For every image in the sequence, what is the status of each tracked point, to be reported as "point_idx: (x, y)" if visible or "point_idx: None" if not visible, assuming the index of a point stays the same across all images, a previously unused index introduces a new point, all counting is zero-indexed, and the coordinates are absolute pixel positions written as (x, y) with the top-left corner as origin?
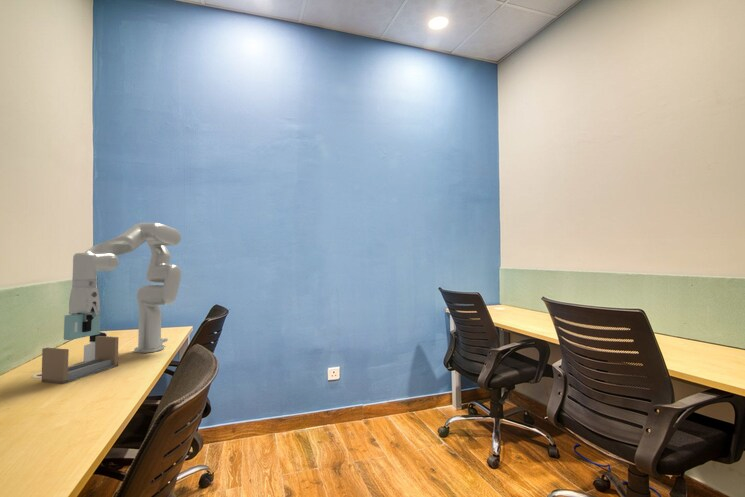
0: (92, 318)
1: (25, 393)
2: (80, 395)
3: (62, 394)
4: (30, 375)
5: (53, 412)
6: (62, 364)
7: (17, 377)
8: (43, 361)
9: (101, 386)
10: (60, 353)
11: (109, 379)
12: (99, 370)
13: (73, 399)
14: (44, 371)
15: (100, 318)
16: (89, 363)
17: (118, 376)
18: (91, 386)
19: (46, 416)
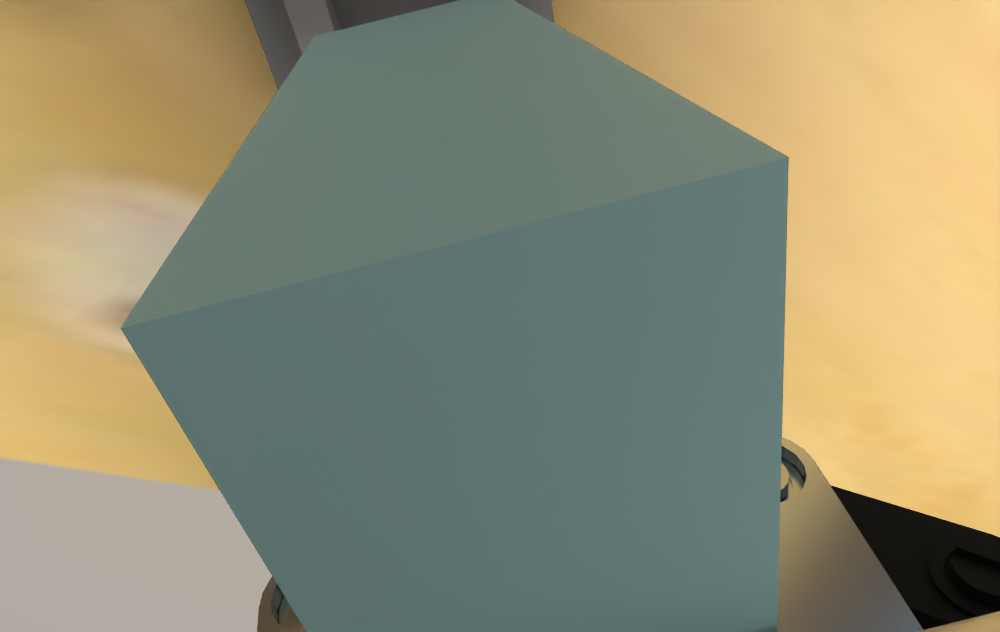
0: (896, 528)
1: None
2: (901, 356)
3: (784, 396)
4: (108, 363)
5: (954, 487)
6: None
7: (96, 424)
8: None
9: (902, 222)
10: None
11: (834, 103)
12: (552, 19)
13: (913, 395)
14: None
15: (611, 60)
16: (329, 11)
17: (847, 11)
18: (833, 255)
19: (960, 510)
